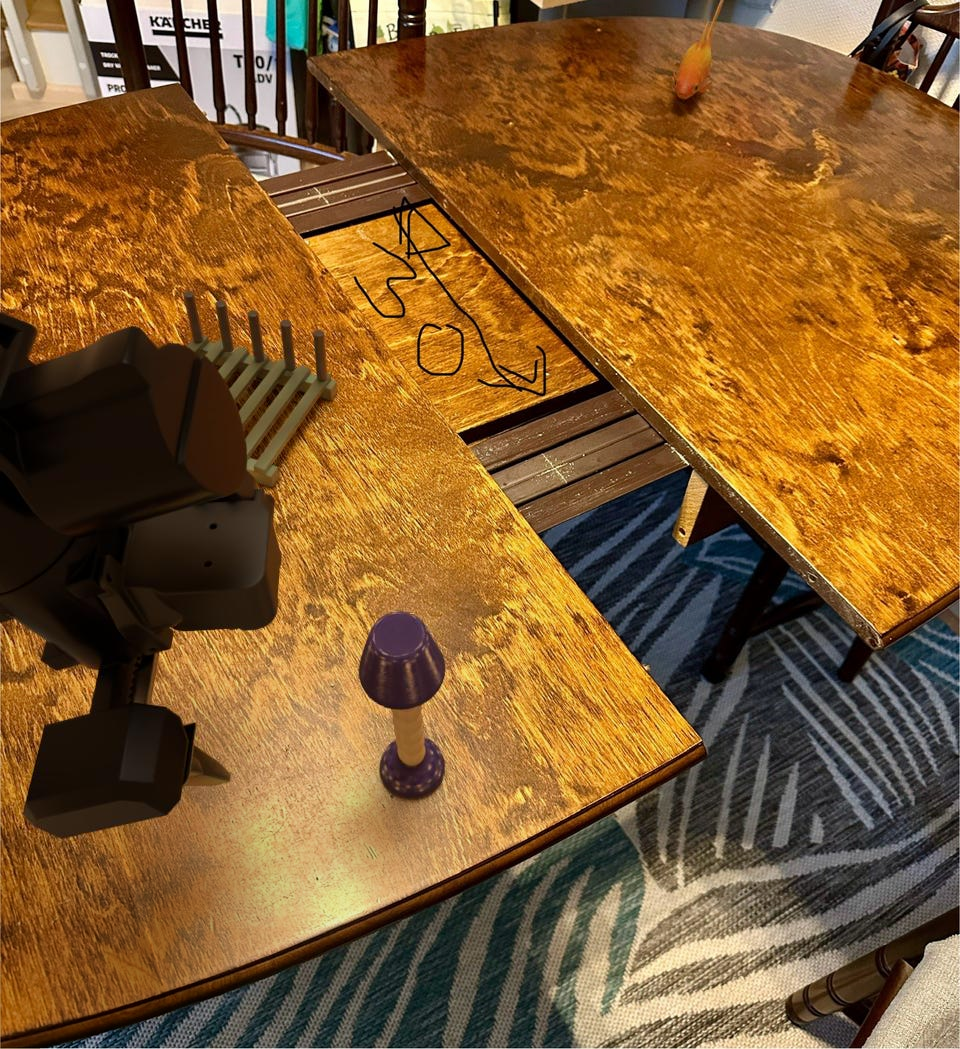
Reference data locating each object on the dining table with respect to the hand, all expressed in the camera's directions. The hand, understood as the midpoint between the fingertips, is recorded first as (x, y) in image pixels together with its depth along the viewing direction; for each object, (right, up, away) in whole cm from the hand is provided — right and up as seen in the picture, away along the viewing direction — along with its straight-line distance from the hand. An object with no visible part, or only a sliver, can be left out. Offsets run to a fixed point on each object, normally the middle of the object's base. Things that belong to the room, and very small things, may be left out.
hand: (231, 698), depth 48 cm
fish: (+43, +70, +75) cm, 111 cm away
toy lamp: (+9, -7, +10) cm, 15 cm away
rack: (-8, +19, +29) cm, 35 cm away
